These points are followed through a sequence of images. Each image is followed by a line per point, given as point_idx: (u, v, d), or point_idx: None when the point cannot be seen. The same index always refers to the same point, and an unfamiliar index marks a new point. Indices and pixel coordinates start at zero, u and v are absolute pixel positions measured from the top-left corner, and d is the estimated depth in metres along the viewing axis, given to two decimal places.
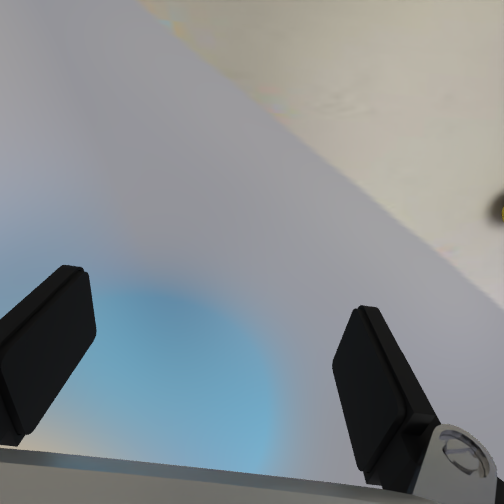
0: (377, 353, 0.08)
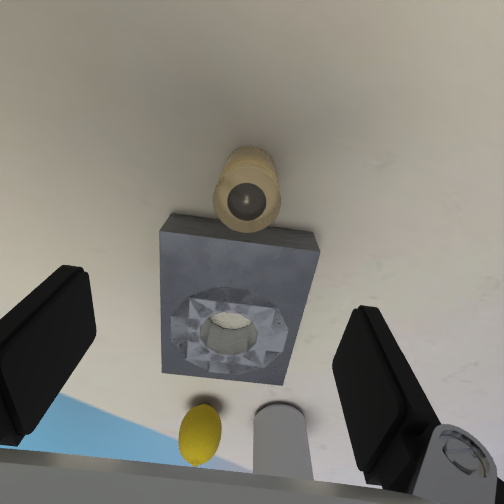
0: (377, 353, 0.08)
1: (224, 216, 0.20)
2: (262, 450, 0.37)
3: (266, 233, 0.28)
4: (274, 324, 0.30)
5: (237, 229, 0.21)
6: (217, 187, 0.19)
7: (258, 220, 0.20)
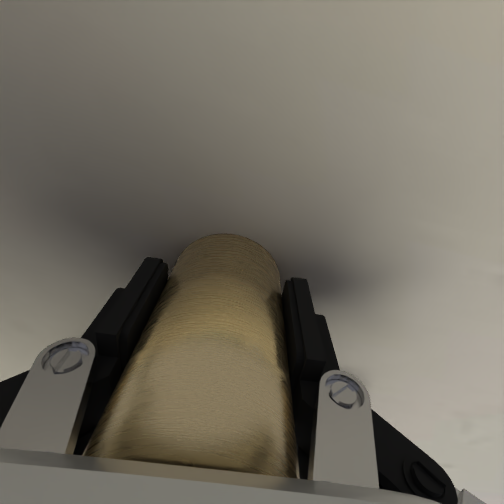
0: (293, 315, 0.09)
1: None
2: None
3: None
4: None
5: None
6: None
7: None
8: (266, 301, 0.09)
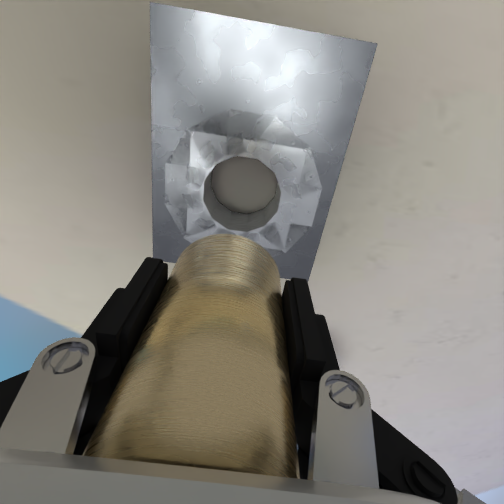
0: (292, 315, 0.09)
1: None
2: None
3: None
4: (303, 178, 0.22)
5: None
6: None
7: None
8: (266, 301, 0.09)
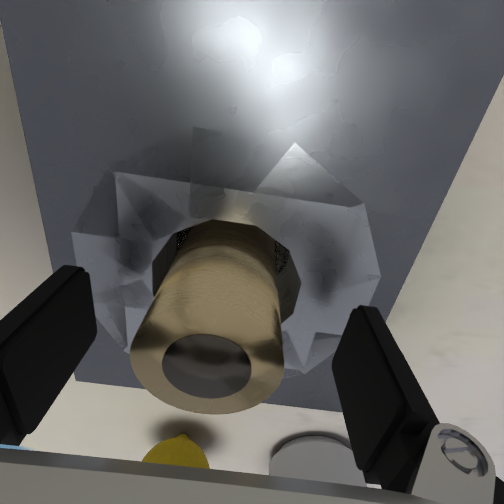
0: (376, 352, 0.08)
1: (159, 388, 0.09)
2: None
3: None
4: (346, 259, 0.11)
5: (190, 409, 0.10)
6: (137, 340, 0.08)
7: (234, 397, 0.09)
8: (262, 246, 0.12)
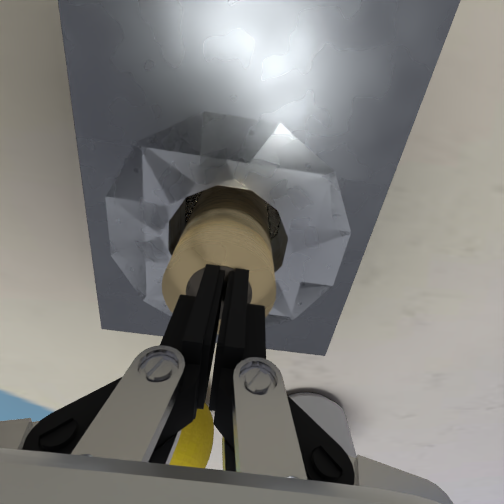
0: (225, 304, 0.09)
1: None
2: None
3: None
4: (323, 218, 0.14)
5: None
6: (167, 271, 0.11)
7: None
8: (257, 210, 0.15)
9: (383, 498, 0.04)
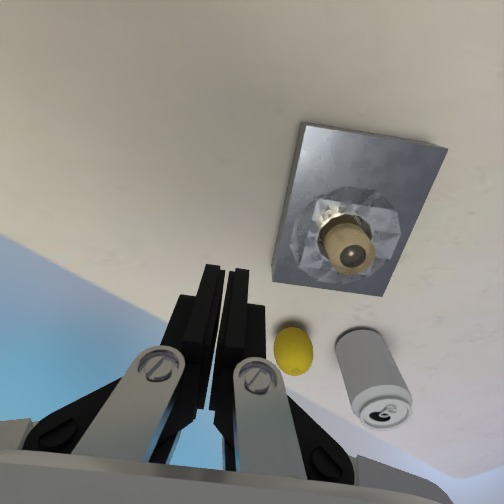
0: (225, 304, 0.09)
1: (336, 264, 0.31)
2: (355, 363, 0.40)
3: (392, 137, 0.30)
4: (389, 227, 0.33)
5: (343, 272, 0.31)
6: (335, 247, 0.30)
7: (358, 267, 0.31)
8: None
9: (383, 498, 0.04)
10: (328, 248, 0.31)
